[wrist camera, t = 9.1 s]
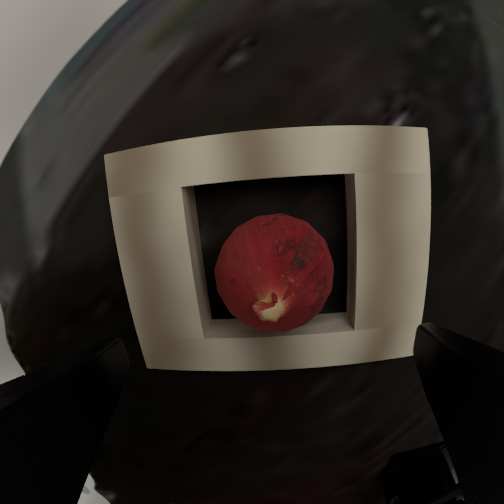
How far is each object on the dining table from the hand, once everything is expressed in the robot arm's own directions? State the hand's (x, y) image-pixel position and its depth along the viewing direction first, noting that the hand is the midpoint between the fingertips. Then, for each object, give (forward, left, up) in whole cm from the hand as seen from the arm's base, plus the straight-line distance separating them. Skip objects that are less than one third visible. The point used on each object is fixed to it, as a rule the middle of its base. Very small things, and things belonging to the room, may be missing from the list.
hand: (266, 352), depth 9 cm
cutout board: (0, 0, -11) cm, 11 cm away
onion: (0, 0, -11) cm, 11 cm away
